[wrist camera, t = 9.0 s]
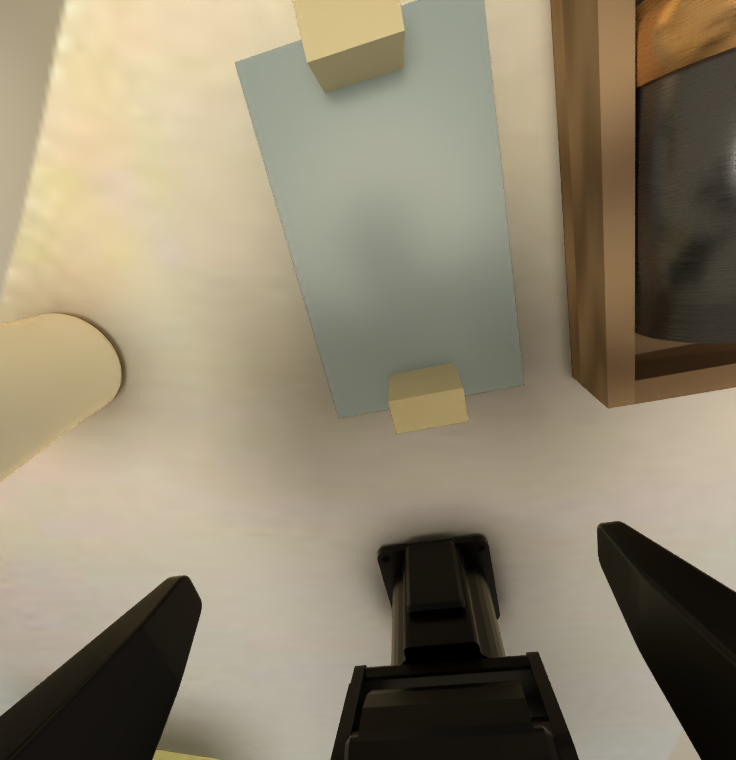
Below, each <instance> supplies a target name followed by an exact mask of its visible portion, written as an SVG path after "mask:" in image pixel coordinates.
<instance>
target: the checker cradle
mask: <svg viewBox="0 0 736 760" xmlns="http://www.w3.org/2000/svg"><path fill="white" fill-rule="evenodd" d="M292 2H293V6H294V10H295V14H296V19H297V23H298V27H299V31H300V35H301V39H302V40H300V41H297V42H294V43H291V44H288V45H285V46H282V47H279V48H276V49H273V50H270V51H267V52H264V53H261V54H258V55H255V56H253V57H250V58H247V59H244V60H241V61H238V62H235V66H236V69H237V72H238V76H239V79H240V83H241V86H242V90H243V93H244V96H245V100H246V103H247V107H248V110H249V113H250V117H251V120H252V124H253V127H254V131H255V134H256V137H257V141H258V144H259V148H260V151H261V155H262V158H263V161H264V165H265V168H266V172H267V175H268V178H269V182H270V185H271V189H272V192H273V196H274V199H275V202H276V206H277V209H278V213H279V216H280V220H281V223H282V226H283V230H284V233H285V237H286V240H287V243H288V247H289V250H290V254H291V257H292V261H293V264H294V267H295V271H296V274H297V278H298V281H299V284H300V288H301V291H302V295H303V298H304V302H305V305H306V308H307V312H308V315H309V319H310V322H311V326H312V329H313V332H314V336H315V339H316V343H317V346H318V349H319V353H320V356H321V360H322V363H323V367H324V370H325V373H326V377H327V380H328V384H329V387H330V391H331V394H332V397H333V401H334V404H335V408H336V411H337V414H338V418H344V417H350V416H355V415H361V414H367V413H372V412H378V411H383V410H389V409H390V411H391V416H392V420H393V424H394V428H395V432H396V434H398V433H404V432H410V431H416V430H421V429H427V428H433V427H439V426H445V425H451V424H457V423H462V422H468V421H469V420H468V414H467V408H466V402H465V396H466V395H472V394H477V393H483V392H488V391H494V390H499V389H505V388H511V387H516V386H522V385H524V378H523V368H522V359H521V349H520V340H519V330H518V321H517V311H516V302H515V292H514V283H513V273H512V264H511V254H510V245H509V235H508V225H507V216H506V206H505V197H504V187H503V178H502V168H501V159H500V149H499V140H498V130H497V121H496V111H495V102H494V92H493V83H492V73H491V64H490V54H489V44H488V35H487V25H486V16H485V6H484V0H417V1H414V2H411V3H408V4H405V5H402V6H401V5H400V0H294V1H292Z"/></svg>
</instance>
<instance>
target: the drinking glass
mask: <svg viewBox="0 0 736 760" xmlns="http://www.w3.org/2000/svg"><path fill="white" fill-rule="evenodd" d="M121 378H122V372H121V365H120V361H119V358H118V355H117V353H116V351H115V349H114V348H113V346H112V345H111V343H110V342H109V341H108V339H107V338H106V337H105V336H104V335H103V334H102V333H101V332H100V331H99V330H98V329H96V328H95V327H94V326H92V325H91V324H89V323H87V322H86V321H83V320H81V319H79V318H76V317H74V316H70V315H65V314H57V313H50V314H42V315H38V316H33V317H29V318H25V319H21V320H17V321H13V322H7V323H2V324H0V483H1V482H2V481H3V480H5V479H6V478H7V477H9V476H10V475H11V474H12V473H14V472H15V471H16V470H18V469H19V468H20V467H22V466H23V465H24V464H26V463H27V462H28V461H29V460H31V459H32V458H33V457H35V456H36V455H37V454H39V453H40V452H41V451H43V450H44V449H45V448H47V447H48V446H49V445H50V444H52V443H53V442H54V441H56V440H57V439H58V438H60V437H61V436H62V435H64V434H65V433H66V432H68V431H69V430H70V429H72V428H73V427H74V426H76V425H77V424H78V423H80V422H81V421H83V420H84V419H86V418H87V417H89V416H90V415H92V414H94V413H95V412H97V411H99V410H100V409H102V408H103V407H105V406H106V405H107V404H109V403H110V402H111V401H112V400H113V398H114V397H115V396H116V394H117V392H118V390H119V388H120V384H121Z"/></svg>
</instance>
